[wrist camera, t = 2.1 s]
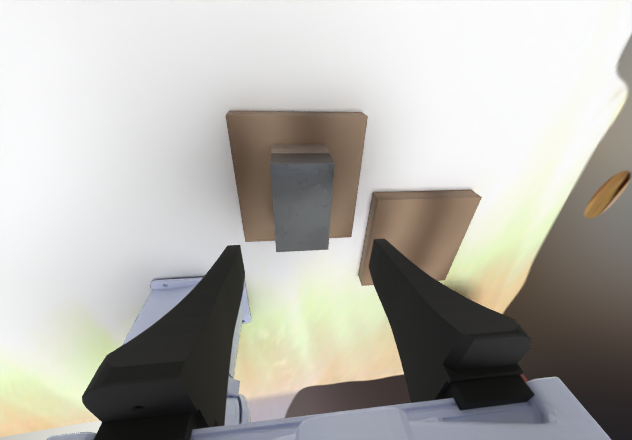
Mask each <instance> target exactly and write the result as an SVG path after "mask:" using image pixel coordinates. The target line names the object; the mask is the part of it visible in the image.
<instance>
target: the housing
mask: <svg viewBox="0 0 632 440" xmlns="http://www.w3.org/2000/svg"><path fill="white" fill-rule="evenodd" d="M334 165H335V163H334V161H333V159H332V157H331V155H330V153H329V151H328V149H327V146H326V144H272V149H271V159H270V172H271V186H272V200H273V214H274V227H275V241H276V252H286V251H307V250H327V249H328V244H329V231H330V218H331V204H332V191H333V178H334Z"/></svg>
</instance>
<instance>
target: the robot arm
mask: <svg viewBox="0 0 632 440" xmlns="http://www.w3.org/2000/svg"><path fill="white" fill-rule="evenodd" d="M369 270H370V274H371V278H372V281H373V284H374V287H375V289H376V291H377V294H378V296H379V299H380V301H381V303H382V306H383V308H384V310H385V313H386V315H387V317H388V320H389V323H390V325H391V329H392V332H393V335H394V338H395V342H396V345H397V349H398V352H399V356H400V359H401V363H402V367H403V371H404V375H405V378H406V382H407V386H408V391H409V395H410V400H411V403H407V404H400V405H391V406H382V407H375V408H366V409H358V410H350V411H341V412H333V413H325V414H317V415H308V416H300V417H292V418H284V419H275V420H267V421H259V422H251V417H250V410H249V407H248V403H247V400H246V398H245V397H244V396H243V395H241V394H238V393H239V385H240V381H238V380H235V379H233V378H234V372H235V365H236V358H237V351H238V344H239V338H240V331H241V324H242V323H249V322H250V321H251V314H250V309H249V303H248V297H247V292H246V286H245V280H244V278H245V271H244V265H243V259H242V254H241V248H240V245H230V246H227V247H226V248H225V250H224V251H223V253H222V254H221V255H220V257H219V258H218V259H217V261H216V262H215V263H214V265H213V266H212V267H211V269H210V270H209V271H208V272H207V274H206V275H205V276H204V277H201V278H184V279H167V280H154V281H152V282H151V284H150V287H151V289H152V291H151V293H150V295H149V297H148V299H147V300H146V302H145V304H144V306H143V308H142V310H141V311H140V313H139V315H138V317H137V319H136V321H135V322H134V324H133V326H132V328H131V330H130V332H129V334H128V335H127V337H126V339H125V341H124V344H123V345H122V346H121V347H119V348H118V349H116V350H115V351H113V352H111V353H110V354H108V355H107V356H106V357H105V359H104V360H103V362H102V363H101V365H100V366H99V368H98V370H97V372H96V373H95V375H94V377H93V378H92V380H91V382H90V384H89V385H88V387H87V389H86V391H85V392H84V394H83V396H82V402H83V404H84V405H85V406H86V408H87V409H88V410H89V411H90V412H92V413H93V414H94V415H95V416H96V417H97V418H98V419H99V420H100V421H102V424H101V426H100V428H99V430H98V432H97V434H96V433H92V432H80V433H72V434H63V435H56V436H51V437H49V438H48V439H47V440H611V439H610V438H609V437H608V435H607V434H606V433H605V432H604V431H603V429H601V427H600V426H599V425H598V424H597V422H596V421H595V420H594V419H593V418H592V417H591V415H590V414H589V413H588V412H587V411H586V409H585V408H584V407H583V406H582V405H581V404H580V402H579V401H578V400H577V399H576V398H575V397H574V396H573V394H572V393H571V392H570V391H569V389H568V388H567V387H566V386H565V385H564V384H563V382H562V381H561V380H560V379H559V378H558V377H549V378H541V379H534V380H530V381H528V382H525V381H524V380H523V378H522V377H521V376H520V375H522V374H523V371H522V370H521V368H520V367H519V365H518V364H517V363H518V362H519V361H520V360H521V358H522V357H523V356H524V355H525V354H526V353H527V352H528V350H529V349H530V347H531V343H532V340H531V338H530V336H529V335H528V334H527V333H526V332H525V331H524V330H523V328H522V327H521V326H520V325H519V324H518V323H517V321H516V320H515V319H512V318H510V317H507V316H505V315H503V314H500V313H498V312H495V311H493V310H490V309H488V308H486V307H484V306H482V305H480V304H478V303H475V302H473V301H471V300H469V299H467V298H466V297H464V296H462V295H460V294H458V293H456V292H455V291H453V290H451V289H449V288H448V287H446V286H445V285H443V284H441V283H440V282H438V281H437V280H435V279H434V278H432V277H431V276H429V275H428V274H427V273H425V272H424V271H423V270H421V269H420V268H419V267H417V266H416V265H415V264H414V263H412V262H411V261H410V260H409V259H408V258H406V257H405V256H404V255H403V254H402V253H401V252H400V251H398V250H397V249H396V248H395V247H394V246H393V245H392V244H390V243H389V242H388V241H387V240H386V239H385V238H384V239H374V241H373V246H372V251H371V256H370V261H369Z"/></svg>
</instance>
